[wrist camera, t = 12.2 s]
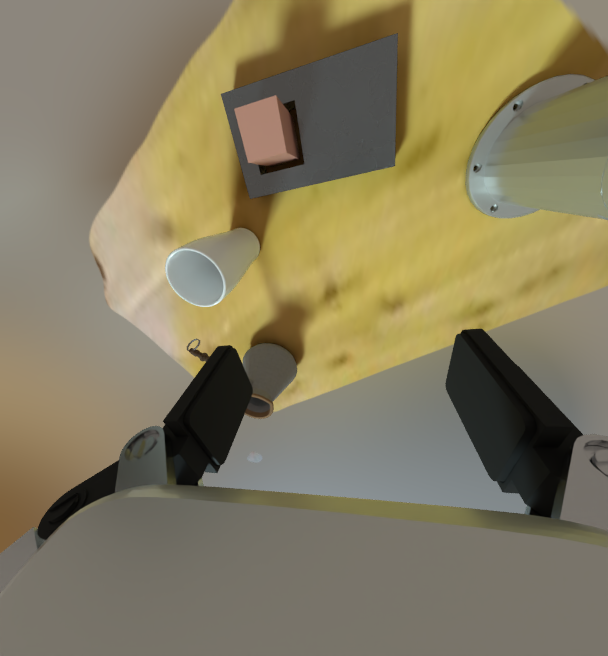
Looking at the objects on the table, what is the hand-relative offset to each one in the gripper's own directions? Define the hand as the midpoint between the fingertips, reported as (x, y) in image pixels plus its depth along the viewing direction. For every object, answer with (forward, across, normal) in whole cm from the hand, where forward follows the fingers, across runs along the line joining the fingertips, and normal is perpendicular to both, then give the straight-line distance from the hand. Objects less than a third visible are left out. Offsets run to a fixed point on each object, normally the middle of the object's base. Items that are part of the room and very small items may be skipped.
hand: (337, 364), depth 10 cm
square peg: (+28, +6, -12) cm, 31 cm away
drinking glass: (+28, +15, -1) cm, 32 cm away
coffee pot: (+28, +18, +18) cm, 38 cm away
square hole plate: (+28, +2, -12) cm, 31 cm away
